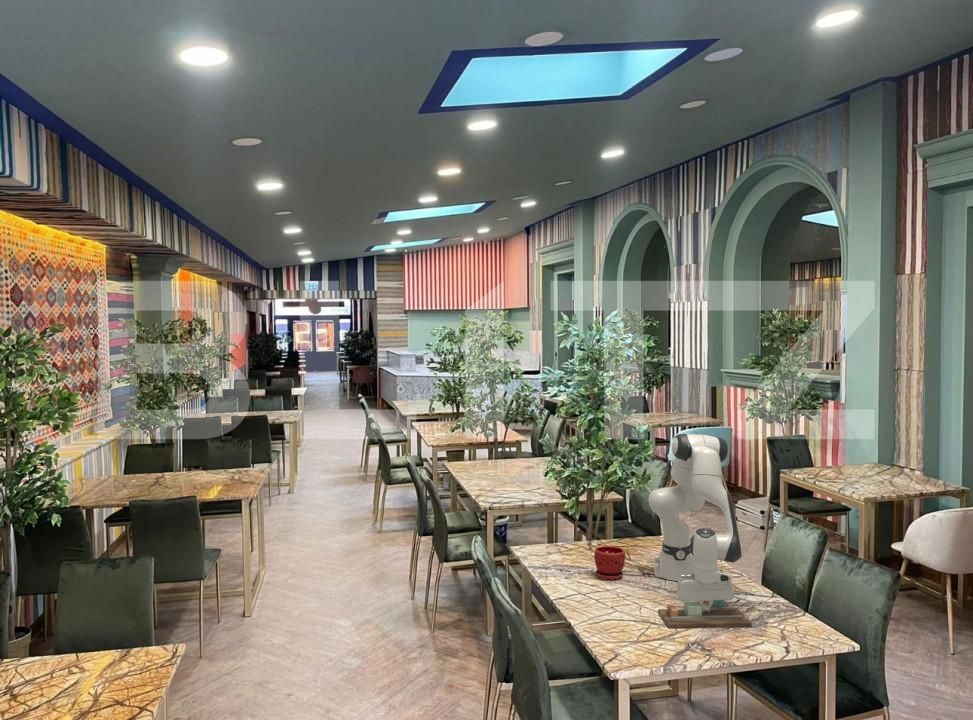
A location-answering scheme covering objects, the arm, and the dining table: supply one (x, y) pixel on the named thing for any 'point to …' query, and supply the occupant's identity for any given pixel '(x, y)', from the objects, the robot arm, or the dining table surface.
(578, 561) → the dining table surface
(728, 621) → the guide board
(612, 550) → the plant pot
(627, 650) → the dining table surface
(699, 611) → the block
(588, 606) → the dining table surface
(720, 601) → the cupcake
